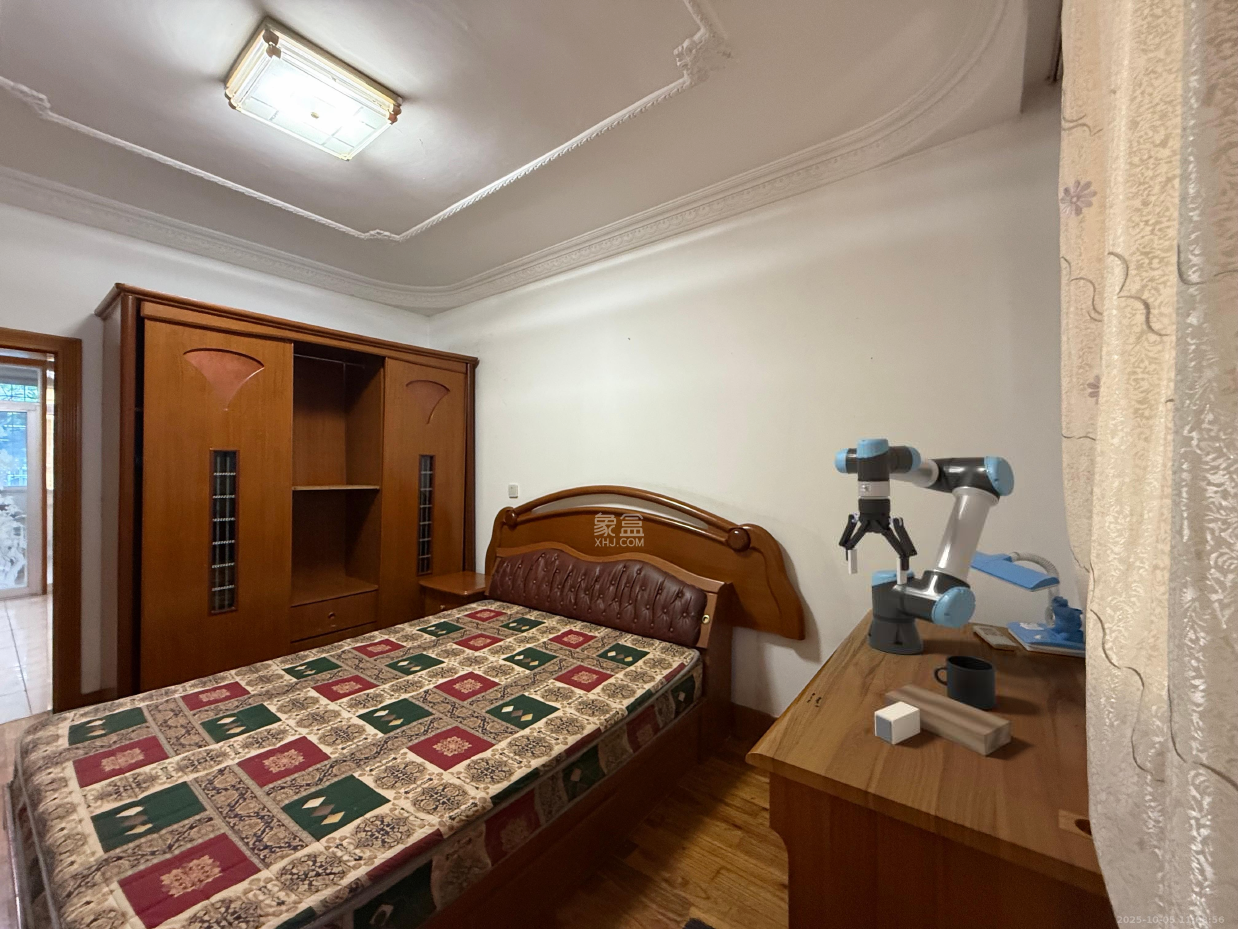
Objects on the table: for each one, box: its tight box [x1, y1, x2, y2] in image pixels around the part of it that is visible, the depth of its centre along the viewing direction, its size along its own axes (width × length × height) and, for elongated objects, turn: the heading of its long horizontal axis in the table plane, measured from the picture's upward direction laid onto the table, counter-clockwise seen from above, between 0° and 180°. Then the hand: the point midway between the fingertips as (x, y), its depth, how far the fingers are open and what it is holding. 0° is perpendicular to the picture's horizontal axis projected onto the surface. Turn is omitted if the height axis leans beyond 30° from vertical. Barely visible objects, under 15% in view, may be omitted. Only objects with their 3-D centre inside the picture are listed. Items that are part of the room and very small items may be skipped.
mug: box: [933, 654, 997, 711], centre depth 116 cm, size 9×12×9 cm
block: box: [874, 702, 921, 746], centre depth 102 cm, size 5×4×9 cm
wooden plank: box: [884, 683, 1012, 757], centre depth 105 cm, size 10×20×4 cm, turn 28°
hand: (876, 578), depth 128 cm, fingers open, 13 cm apart
